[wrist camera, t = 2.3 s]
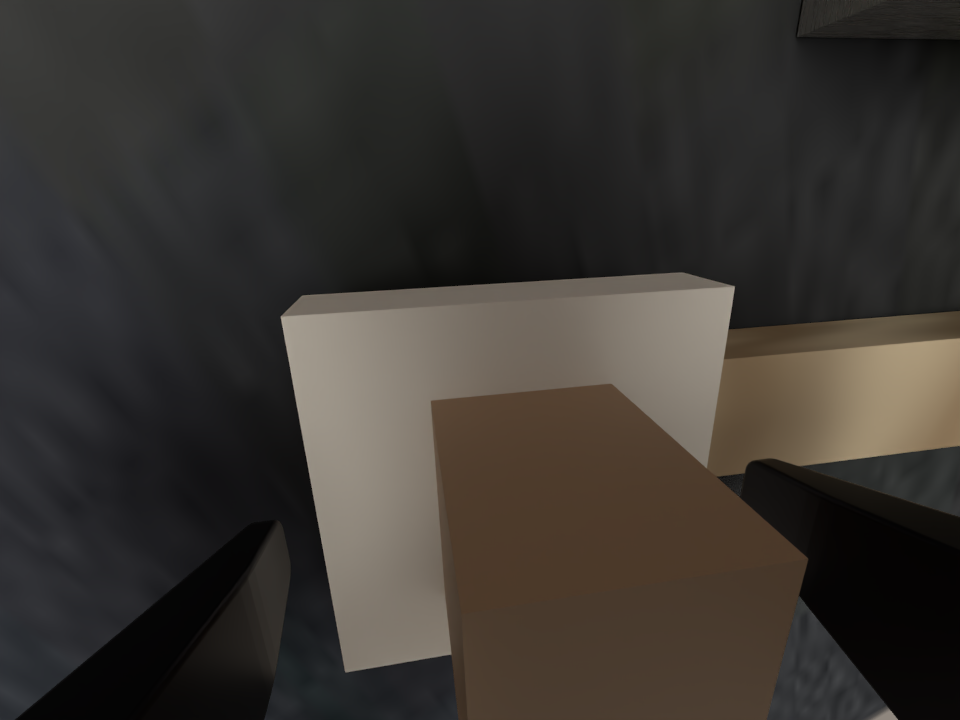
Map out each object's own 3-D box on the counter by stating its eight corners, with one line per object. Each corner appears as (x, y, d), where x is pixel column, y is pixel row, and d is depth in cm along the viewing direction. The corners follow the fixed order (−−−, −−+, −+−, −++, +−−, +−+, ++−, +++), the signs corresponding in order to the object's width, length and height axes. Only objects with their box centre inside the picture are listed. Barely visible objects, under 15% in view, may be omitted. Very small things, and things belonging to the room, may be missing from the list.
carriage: (633, 258, 11) (1066, 376, 4) (613, 510, 13) (856, 869, 6) (320, 276, 10) (118, 476, 3) (360, 544, 12) (305, 1016, 5)
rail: (1015, 306, 13) (1114, 324, 11) (980, 401, 14) (1067, 431, 12) (336, 361, 11) (321, 395, 9) (352, 472, 12) (342, 524, 10)
